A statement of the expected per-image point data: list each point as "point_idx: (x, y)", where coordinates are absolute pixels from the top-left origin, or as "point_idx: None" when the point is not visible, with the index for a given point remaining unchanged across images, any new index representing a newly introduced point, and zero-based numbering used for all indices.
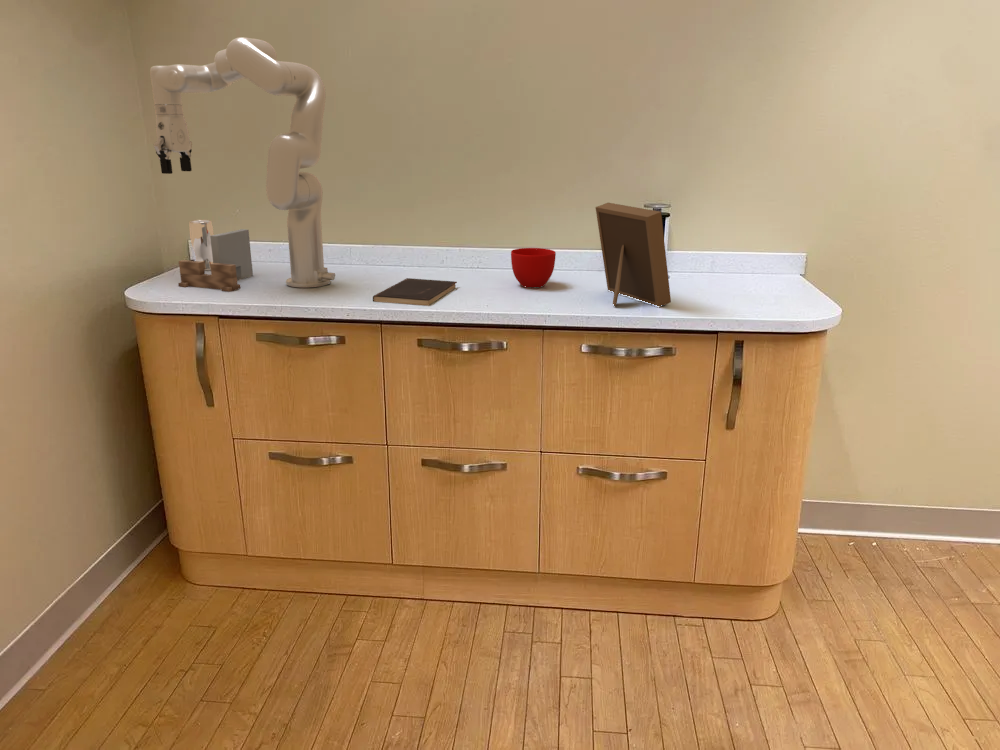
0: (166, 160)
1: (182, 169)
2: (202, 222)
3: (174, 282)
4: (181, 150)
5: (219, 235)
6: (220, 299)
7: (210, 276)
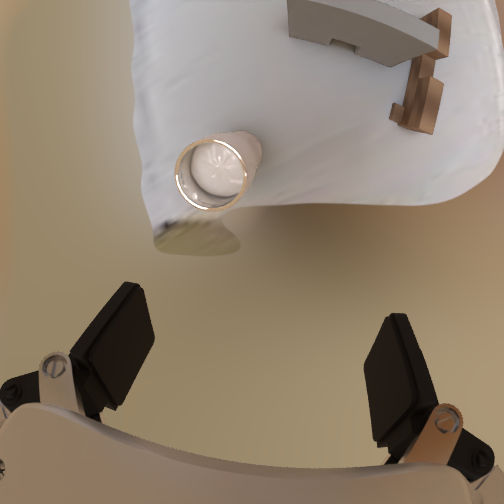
0: (434, 405)
1: (150, 338)
2: (236, 152)
3: (386, 155)
4: (265, 482)
5: (426, 25)
6: (479, 40)
7: (434, 62)
